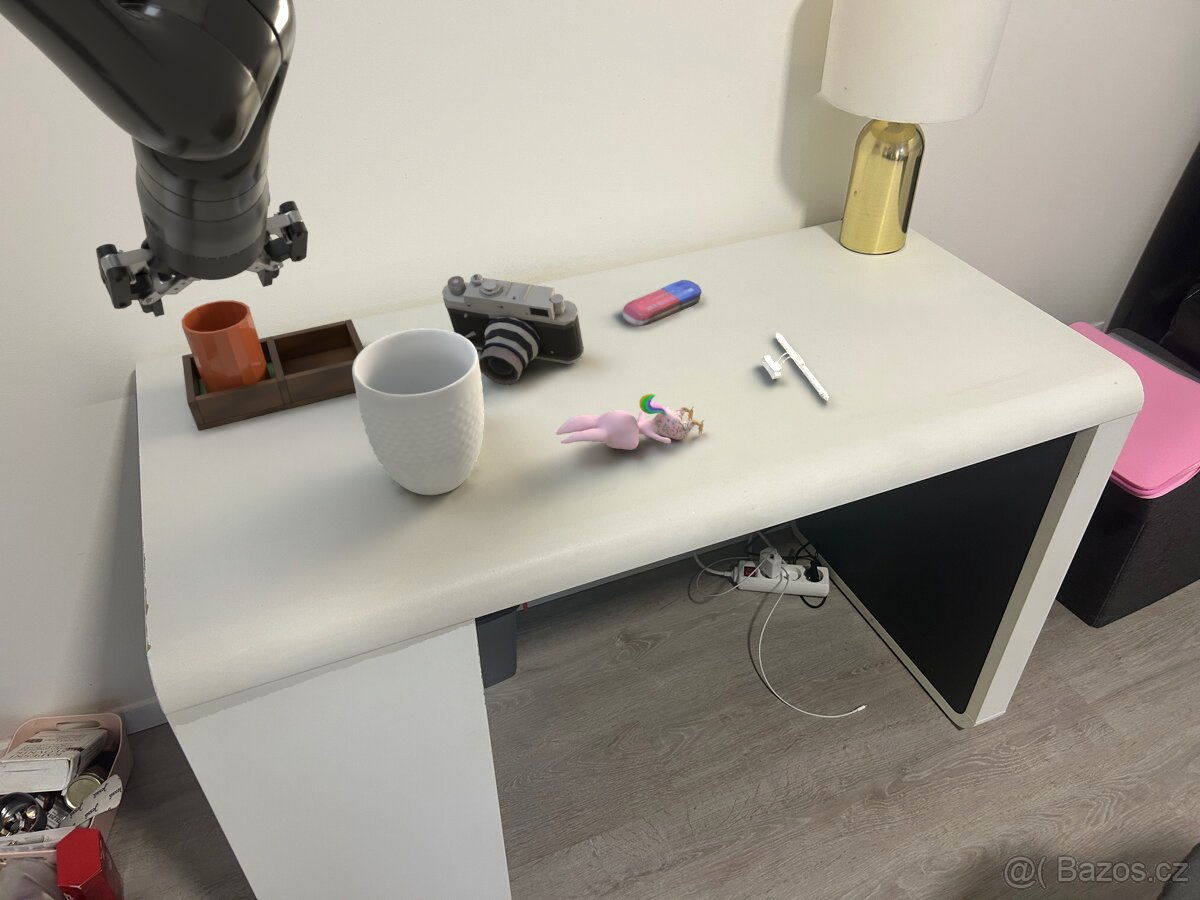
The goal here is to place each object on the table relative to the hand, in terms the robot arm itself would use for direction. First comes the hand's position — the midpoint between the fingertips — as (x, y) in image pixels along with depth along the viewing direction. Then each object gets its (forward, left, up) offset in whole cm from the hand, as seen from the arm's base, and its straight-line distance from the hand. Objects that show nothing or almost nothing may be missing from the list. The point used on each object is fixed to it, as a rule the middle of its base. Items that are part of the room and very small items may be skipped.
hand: (209, 289), depth 69 cm
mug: (+15, -5, -21) cm, 26 cm away
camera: (+27, +9, -21) cm, 35 cm away
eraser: (+49, +13, -21) cm, 55 cm away
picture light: (+55, -5, -20) cm, 59 cm away
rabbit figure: (+34, -10, -21) cm, 41 cm away
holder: (+3, +16, -20) cm, 26 cm away
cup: (-1, +16, -20) cm, 25 cm away
